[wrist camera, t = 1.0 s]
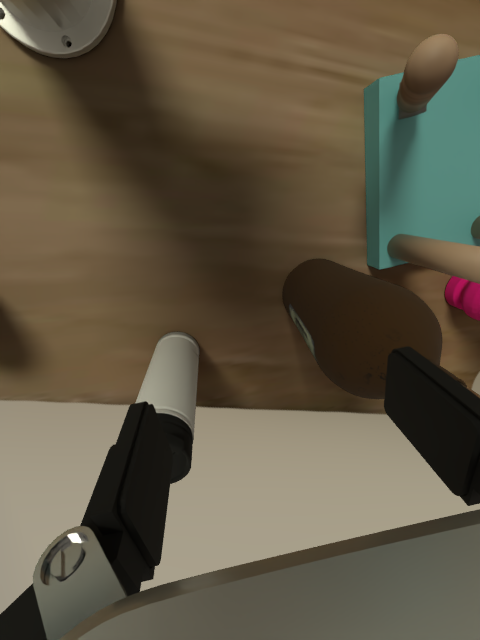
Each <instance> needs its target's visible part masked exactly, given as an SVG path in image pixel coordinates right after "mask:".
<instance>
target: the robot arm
mask: <svg viewBox="0 0 480 640" xmlns="http://www.w3.org/2000/svg"><path fill="white" fill-rule="evenodd" d="M116 3H117V0H0V27H2V28H3V29H4V30H5V31H6V32H7V33H8V34H9V35H11V36H12V37H13V38H14V39H16V40H17V41H19V42H20V43H21V44H23V45H24V46H25V47H27V48H29V49H31V50H33V51H35V52H37V53H39V54H43V55H46V56H49V57H54V58H71V57H77V56H80V55H82V54H84V53H87V52H89V51H90V50H91V49H93V48H94V47H95V46H96V45H98V44H99V42H100V41H101V40H102V39H103V37H104V36H105V35H106V33H107V31H108V29H109V27H110V25H111V22H112V20H113V16H114V12H115V8H116ZM4 17H5V18H4ZM70 43H71V47H68V45H69V44H70ZM384 408H385V411H386V413H387V415H388V416H389V417H390V418H391V420H392V421H393V422H394V423H395V424H396V426H397V427H398V428H399V429H400V430H401V432H402V433H403V434H404V435H405V436H406V437H407V439H408V440H409V441H410V442H411V444H412V445H413V446H414V447H415V448H416V450H417V451H418V452H419V453H420V454H421V456H422V457H423V458H424V459H425V460H426V462H427V463H428V464H429V465H430V466H431V468H432V469H433V470H434V471H435V472H436V474H437V475H438V476H439V477H440V478H441V480H442V481H443V482H444V483H445V484H446V486H447V487H448V488H449V489H450V490H451V491H452V493H454V494H455V495H457V496H460V497H461V498H462V499H463V500H464V502H465V503H466V504H467V505H468V506H470V505H474V504H479V503H480V398H479V397H478V396H476V395H475V394H474V393H472V392H471V391H470V390H468V389H467V388H466V387H464V386H463V385H462V384H460V383H459V382H457V381H456V380H455V379H453V378H452V377H451V376H449V375H448V374H447V373H445V372H444V371H443V370H441V369H440V368H438V367H437V366H436V365H434V364H433V363H432V362H430V361H429V360H428V359H426V358H425V357H424V356H422V355H421V354H419V353H418V352H417V351H415V350H414V349H413V348H411V347H409V346H406V347H402V348H397V349H393V350H392V351H391V354H389V355H388V361H387V374H386V387H385V400H384ZM172 464H173V455H172V451H171V448H170V446H169V443H168V441H167V438H166V436H165V433H164V431H163V428H162V426H161V423H160V420H159V418H158V415H157V413H156V410H155V408H154V406H153V404H148V402H147V401H144V402H140V403H135V404H131V405H130V407H129V410H128V412H127V415H126V418H125V420H124V423H123V426H122V429H121V431H120V434H119V437H118V440H117V442H116V444H115V445H113V446H112V447H111V448H110V450H109V451H108V454H107V457H106V460H105V462H104V465H103V467H102V470H101V473H100V475H99V478H98V481H97V483H96V486H95V488H94V491H93V494H92V496H91V499H90V502H89V504H88V507H87V510H86V512H85V515H84V518H83V520H82V523H81V525H80V526H78V527H74V528H72V529H69V530H67V531H66V532H64V533H63V534H61V535H60V536H58V537H57V538H56V539H55V540H54V541H53V542H52V543H51V544H50V545H49V546H48V547H47V549H46V550H45V551H44V553H43V554H42V555H41V557H40V559H39V561H38V563H37V565H36V567H35V571H34V574H33V584H32V585H31V586H30V587H29V588H27V589H26V590H25V591H24V592H23V593H22V594H21V595H20V596H19V597H18V598H17V599H16V600H15V601H14V602H13V603H12V604H11V605H10V606H9V607H8V608H7V609H6V610H5V611H3V612H2V613H1V614H0V640H480V510H475V511H470V512H466V513H462V514H457V515H452V516H448V517H444V518H439V519H435V520H430V521H426V522H422V523H417V524H413V525H408V526H404V527H400V528H395V529H391V530H386V531H382V532H378V533H374V534H369V535H365V536H361V537H356V538H352V539H348V540H343V541H339V542H335V543H330V544H326V545H322V546H318V547H313V548H309V549H305V550H301V551H296V552H292V553H288V554H284V555H280V556H276V557H271V558H267V559H263V560H259V561H255V562H250V563H246V564H242V565H238V566H234V567H230V568H225V569H222V570H217V571H213V572H209V573H206V574H202V575H198V576H194V577H190V578H186V579H182V580H178V581H175V582H171V583H167V584H163V585H160V586H157V587H154V588H150V589H148V590H144V591H141V592H140V586H141V582H143V581H147V580H151V579H153V576H154V569H155V566H157V565H159V563H160V560H161V554H162V545H163V537H164V529H165V521H166V513H167V505H168V497H169V488H170V480H171V472H172Z"/></svg>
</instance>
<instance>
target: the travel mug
mask: <svg viewBox="0 0 480 640" xmlns="http://www.w3.org/2000/svg"><path fill="white" fill-rule="evenodd" d="M198 364H199V346H198V343H197V342H196V340H195V339H194V338H193V337H192V336H190V335H188V334H186V333H183V332H171V333H168V334H166V335H164V336H163V337H162V338H161V339H160V340H159V341H158V343H157V346H156V349H155V351H154V354H153V357H152V359H151V362H150V365H149V368H148V370H147V373H146V376H145V379H144V381H143V384H142V387H141V390H140V392H139V395H138V398H137V400H136V403H140V402H144V401H147V402H148V404H153V406H154V408H155V410H156V413H157V415H158V418H159V420H160V423H161V426H162V428H163V431H164V433H165V436H166V438H167V441H168V443H169V446H170V448H171V451H172V455H173V464H172V472H171V480H170V484H172V483H175V482H177V481H179V480H181V479H182V478H184V477H185V476H186V475H187V474H188V473H189V471H190V468H191V460H192V444H193V439H194V424H195V409H196V394H197V379H198Z"/></svg>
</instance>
